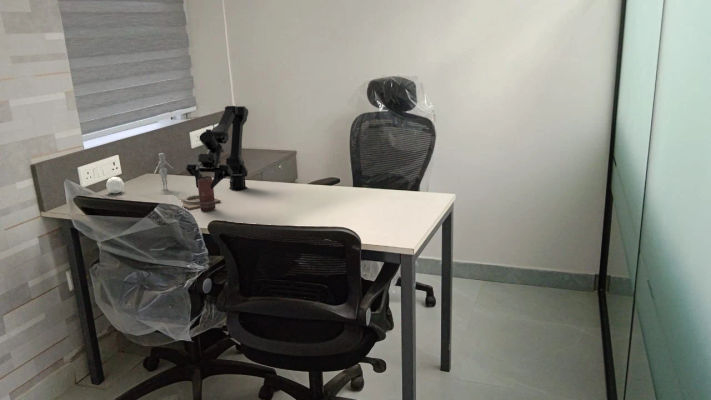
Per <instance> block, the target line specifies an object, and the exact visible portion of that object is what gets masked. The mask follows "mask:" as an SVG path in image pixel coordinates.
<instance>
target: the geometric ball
mask: <svg viewBox="0 0 711 400" xmlns="http://www.w3.org/2000/svg"><path fill="white" fill-rule="evenodd" d="M105 183H106V184H105V187H106V189H107V190H108V191H109V193H112V194H118V193H121V192H122V191H123V190H124V188H125V182H124V181H123V179H122V178H121V177H119V176H118V177H117V176H112V177H109V178H108V180H107V181H106V182H105Z"/></svg>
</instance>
